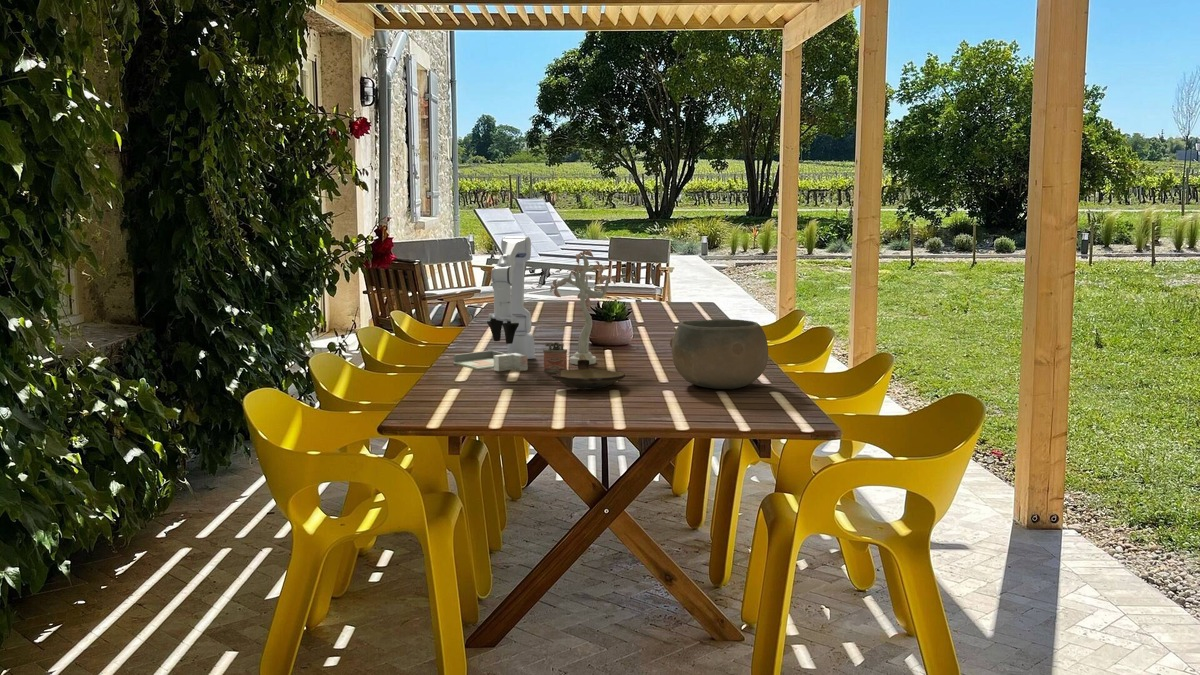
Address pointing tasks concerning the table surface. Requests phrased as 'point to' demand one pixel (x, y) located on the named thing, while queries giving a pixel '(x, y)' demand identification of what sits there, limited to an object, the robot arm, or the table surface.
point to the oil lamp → (587, 376)
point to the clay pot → (720, 352)
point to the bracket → (510, 362)
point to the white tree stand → (584, 301)
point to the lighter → (555, 357)
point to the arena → (477, 359)
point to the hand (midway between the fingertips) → (503, 342)
